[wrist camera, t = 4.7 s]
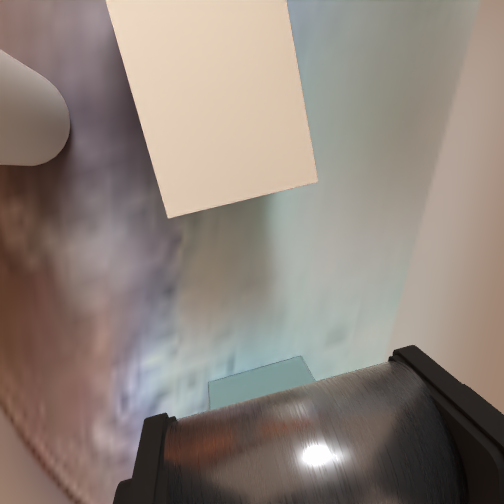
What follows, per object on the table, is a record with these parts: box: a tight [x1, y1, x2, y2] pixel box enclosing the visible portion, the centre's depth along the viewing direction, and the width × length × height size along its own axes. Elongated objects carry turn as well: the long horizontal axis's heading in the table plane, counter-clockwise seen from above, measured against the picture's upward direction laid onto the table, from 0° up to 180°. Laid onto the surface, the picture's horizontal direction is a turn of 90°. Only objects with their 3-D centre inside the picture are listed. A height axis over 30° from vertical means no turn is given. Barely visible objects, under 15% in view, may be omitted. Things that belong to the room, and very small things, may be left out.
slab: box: [106, 0, 318, 218], centre depth 14 cm, size 6×12×4 cm, turn 13°
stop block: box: [208, 356, 315, 410], centre depth 20 cm, size 6×3×8 cm, turn 103°
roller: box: [164, 361, 469, 504], centre depth 9 cm, size 6×4×4 cm, turn 102°
